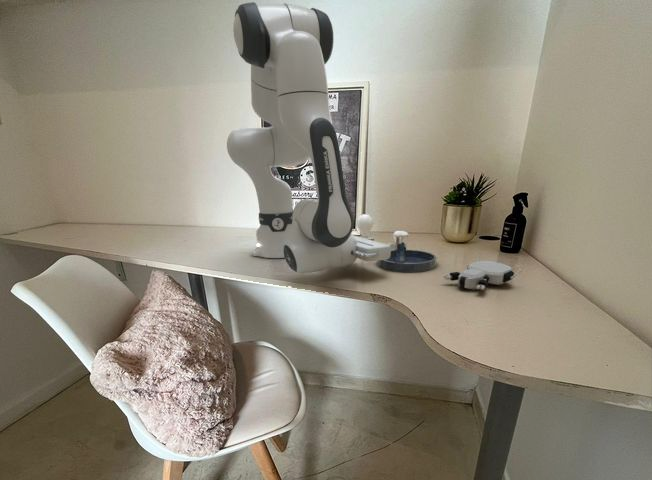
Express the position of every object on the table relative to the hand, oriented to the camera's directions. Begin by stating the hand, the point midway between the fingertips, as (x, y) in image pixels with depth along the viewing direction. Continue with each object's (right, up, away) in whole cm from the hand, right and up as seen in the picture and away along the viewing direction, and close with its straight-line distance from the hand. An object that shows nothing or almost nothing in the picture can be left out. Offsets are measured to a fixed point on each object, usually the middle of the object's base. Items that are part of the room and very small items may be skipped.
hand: (382, 243), depth 97 cm
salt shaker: (+7, -4, +7) cm, 10 cm away
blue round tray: (+8, -5, +4) cm, 10 cm away
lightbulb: (-3, +7, +33) cm, 34 cm away
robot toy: (+22, -14, -14) cm, 30 cm away
